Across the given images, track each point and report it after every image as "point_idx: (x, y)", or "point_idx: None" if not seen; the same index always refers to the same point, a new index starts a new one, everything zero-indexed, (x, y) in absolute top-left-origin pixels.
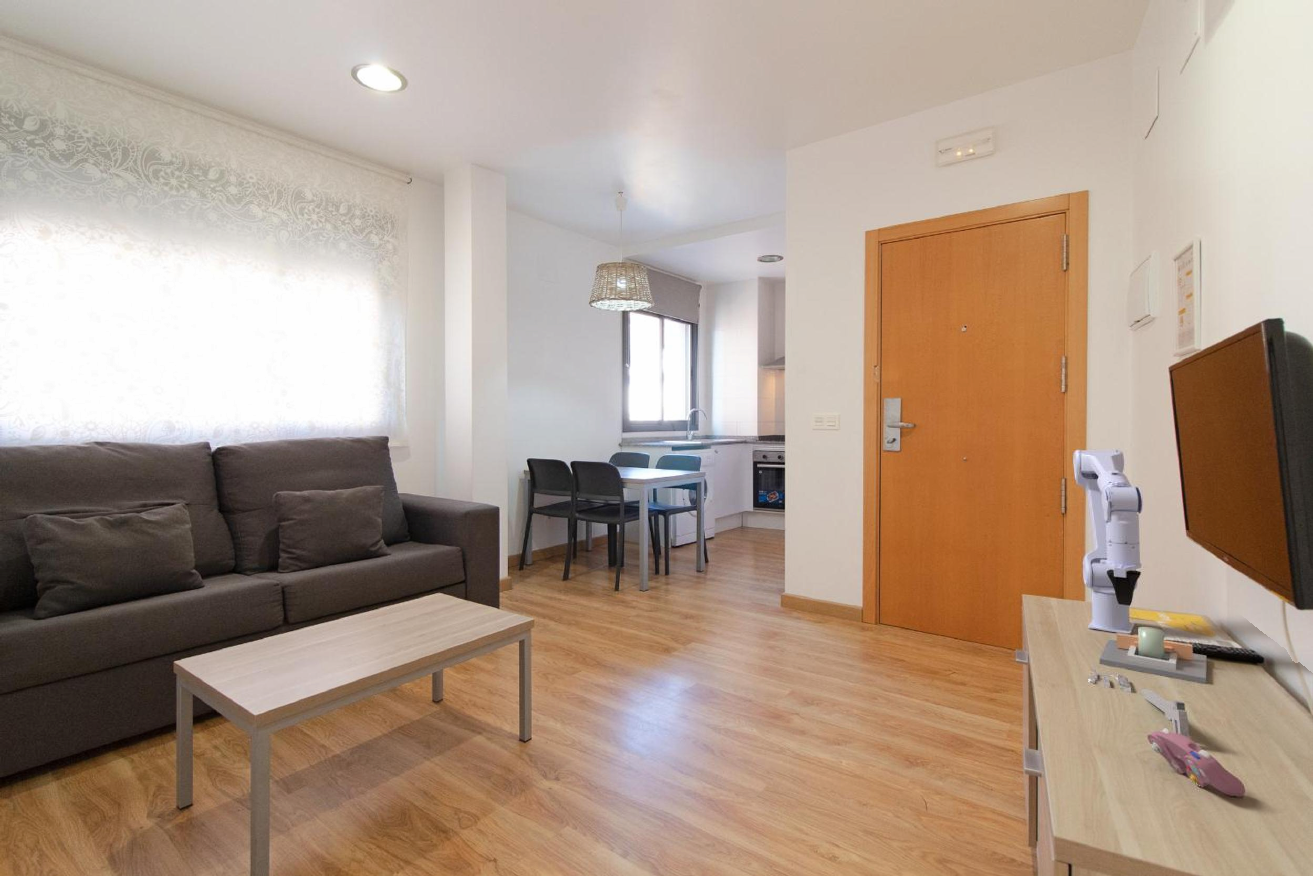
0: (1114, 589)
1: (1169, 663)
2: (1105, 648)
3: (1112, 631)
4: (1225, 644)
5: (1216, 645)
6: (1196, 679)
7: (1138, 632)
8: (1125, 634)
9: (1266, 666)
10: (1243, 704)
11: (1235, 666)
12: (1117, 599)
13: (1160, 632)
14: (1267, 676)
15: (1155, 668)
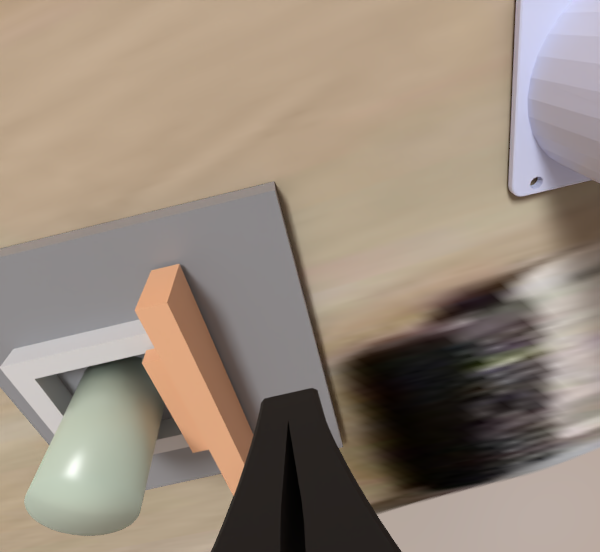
0: (223, 529)
1: None
2: (97, 237)
3: (512, 117)
4: (578, 411)
5: (549, 402)
6: None
7: (51, 460)
8: (175, 334)
9: (402, 501)
10: (33, 546)
11: None
12: (254, 432)
13: (84, 532)
14: None
15: (36, 420)
